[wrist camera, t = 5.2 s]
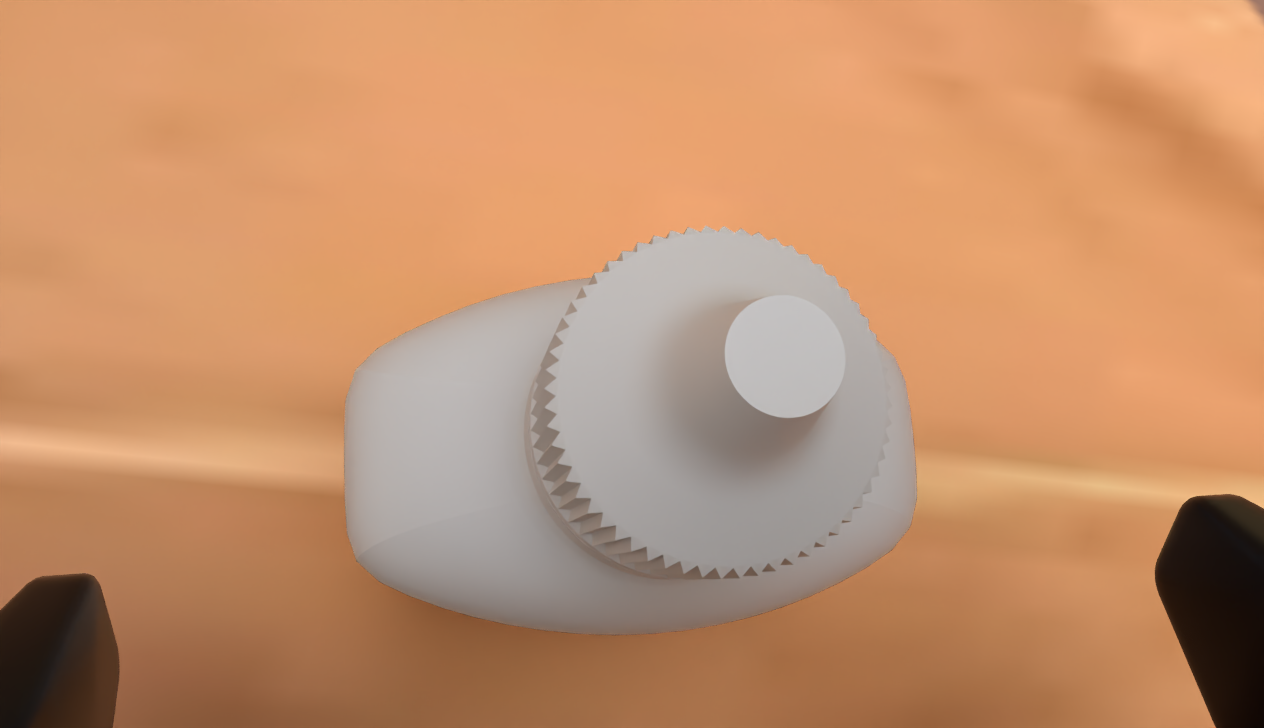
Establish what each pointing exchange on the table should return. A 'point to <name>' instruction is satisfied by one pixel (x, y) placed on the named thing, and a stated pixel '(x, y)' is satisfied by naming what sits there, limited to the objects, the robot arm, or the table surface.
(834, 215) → the table surface
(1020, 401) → the table surface
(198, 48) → the table surface
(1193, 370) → the table surface
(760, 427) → the eye dropper bottle
